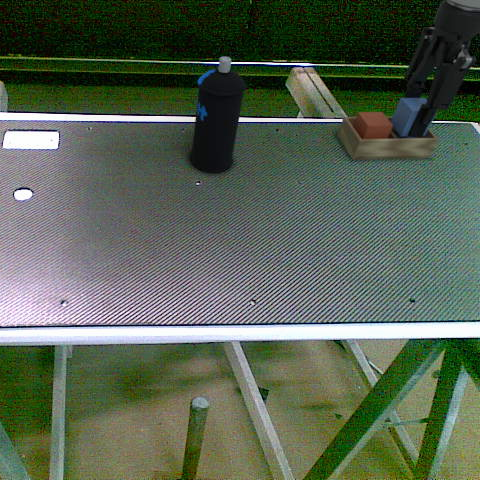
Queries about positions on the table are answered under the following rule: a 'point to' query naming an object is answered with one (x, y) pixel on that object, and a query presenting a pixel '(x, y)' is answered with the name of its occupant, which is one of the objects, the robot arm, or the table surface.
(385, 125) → the terracotta block
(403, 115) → the blue block
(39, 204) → the table surface
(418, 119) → the robot arm
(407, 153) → the tray
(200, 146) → the aerosol can
